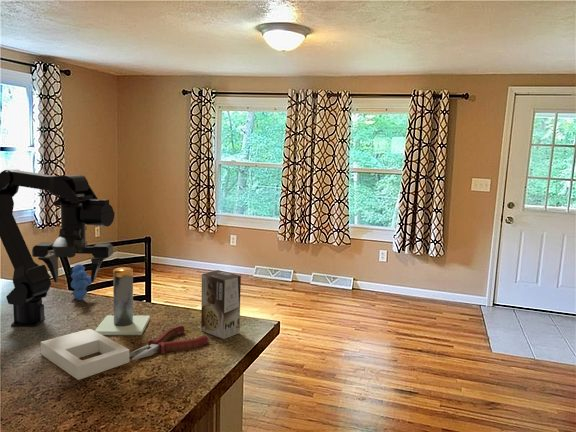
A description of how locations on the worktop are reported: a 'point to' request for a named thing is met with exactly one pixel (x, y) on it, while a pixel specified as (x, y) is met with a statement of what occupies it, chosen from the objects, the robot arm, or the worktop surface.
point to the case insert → (84, 353)
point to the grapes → (79, 281)
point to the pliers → (168, 344)
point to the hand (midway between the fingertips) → (74, 282)
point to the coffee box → (220, 303)
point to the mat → (133, 329)
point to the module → (123, 296)
